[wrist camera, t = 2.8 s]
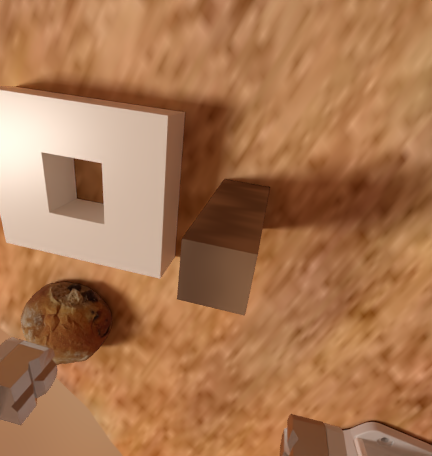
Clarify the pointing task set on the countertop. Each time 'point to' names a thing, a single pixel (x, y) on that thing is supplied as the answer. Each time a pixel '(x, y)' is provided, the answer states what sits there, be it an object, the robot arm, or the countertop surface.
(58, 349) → the bread roll
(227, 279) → the walnut peg
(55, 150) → the socket block
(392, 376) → the countertop surface
